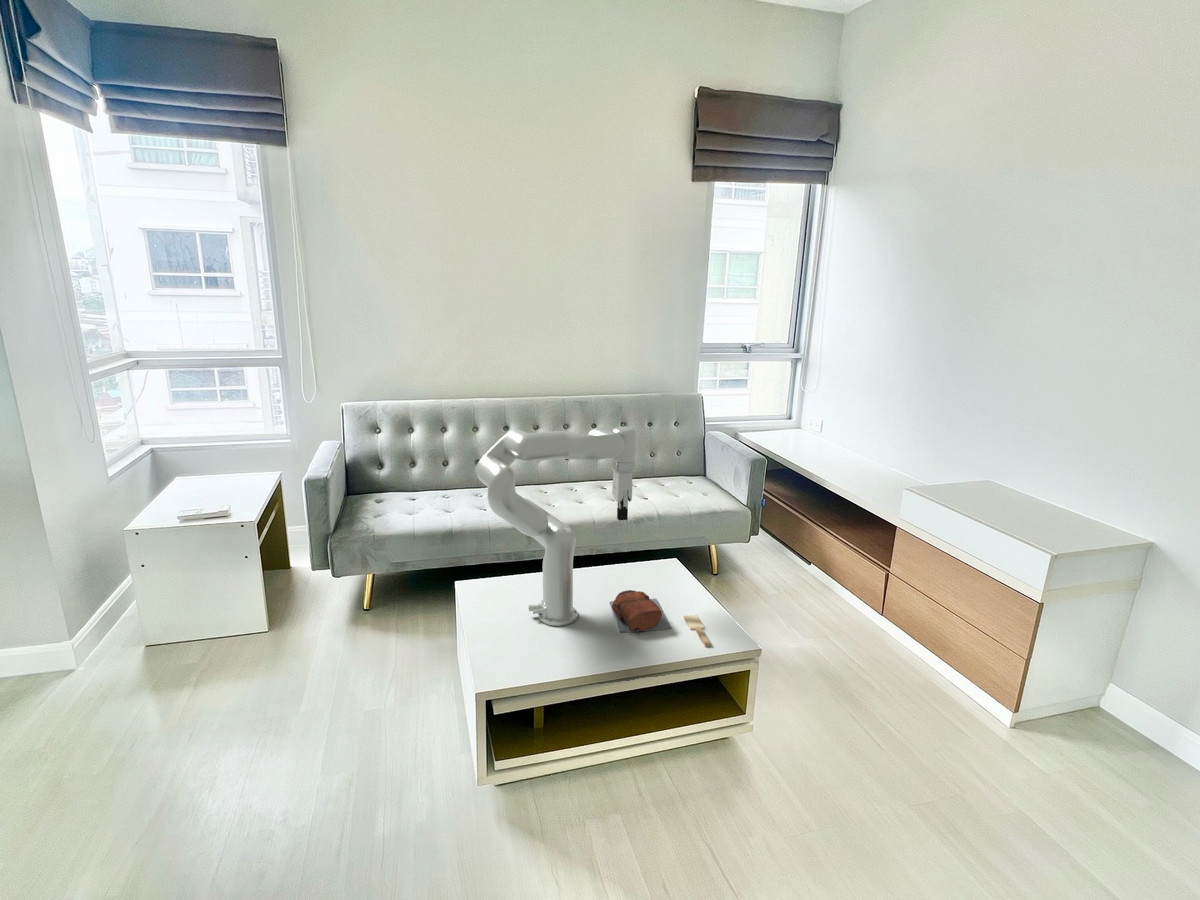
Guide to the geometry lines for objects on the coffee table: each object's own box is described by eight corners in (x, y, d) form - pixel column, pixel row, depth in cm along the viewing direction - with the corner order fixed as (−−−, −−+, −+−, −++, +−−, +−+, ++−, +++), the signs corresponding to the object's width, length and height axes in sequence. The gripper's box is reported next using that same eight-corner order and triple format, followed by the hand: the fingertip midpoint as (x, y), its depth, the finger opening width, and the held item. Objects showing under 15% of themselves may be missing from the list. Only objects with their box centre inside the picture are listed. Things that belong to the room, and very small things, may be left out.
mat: (620, 632, 189) (620, 630, 189) (609, 603, 207) (609, 601, 207) (671, 628, 192) (671, 627, 192) (655, 600, 210) (656, 598, 210)
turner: (715, 646, 182) (715, 643, 182) (700, 647, 182) (700, 644, 181) (696, 616, 200) (696, 613, 199) (683, 617, 199) (683, 614, 199)
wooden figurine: (663, 626, 191) (639, 602, 208) (663, 607, 190) (639, 584, 206) (628, 635, 187) (606, 609, 204) (627, 615, 186) (606, 591, 202)
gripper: (607, 459, 205) (607, 512, 209) (616, 472, 190) (615, 528, 195) (630, 459, 206) (628, 511, 210) (640, 471, 192) (638, 527, 196)
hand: (622, 519), depth 203 cm, fingers closed
